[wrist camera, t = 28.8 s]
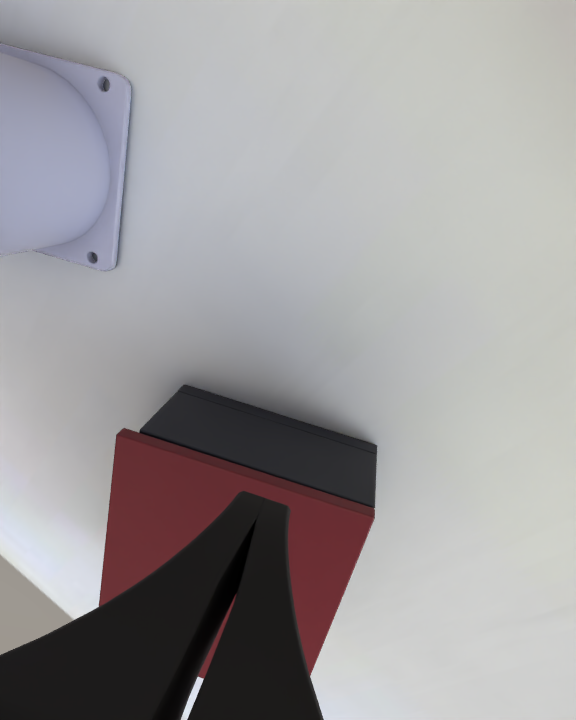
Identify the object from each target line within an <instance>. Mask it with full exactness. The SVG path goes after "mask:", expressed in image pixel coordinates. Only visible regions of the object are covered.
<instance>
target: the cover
mask: <svg viewBox="0 0 576 720" xmlns="http://www.w3.org/2000/svg"><path fill="white" fill-rule="evenodd" d="M241 491H246V492H249V493H252V494H255V495H258V496H261V497H264V498H267V499H270V500H273V501H276V502H279V503H282V504H285V505H287V506H288V507H289V508H290V510H291V512H290V518H289V529H288V550H289V565H290V577H291V586H292V594H293V600H294V607H295V613H296V618H297V624H298V629H299V634H300V638H301V642H302V647H303V651H304V655H305V659H306V663H307V667H308V671H309V674H310V675H311V673H312V670H313V668H314V665H315V663H316V660H317V658H318V656H319V653H320V651H321V648H322V646H323V643H324V641H325V638H326V636H327V634H328V631H329V629H330V626H331V624H332V621H333V619H334V616H335V614H336V612H337V609H338V607H339V604H340V602H341V599H342V597H343V594H344V592H345V590H346V587H347V585H348V582H349V580H350V577H351V575H352V572H353V570H354V568H355V565H356V563H357V560H358V558H359V555H360V553H361V550H362V548H363V546H364V543H365V541H366V538H367V536H368V533H369V531H370V528H371V526H372V524H373V521H374V519H375V509H374V508H371V507H368V506H365V505H362V504H359V503H356V502H353V501H350V500H347V499H343V498H340V497H337V496H334V495H331V494H328V493H325V492H322V491H319V490H315V489H312V488H309V487H306V486H303V485H300V484H297V483H294V482H291V481H287V480H284V479H281V478H278V477H275V476H272V475H269V474H266V473H263V472H259V471H256V470H253V469H250V468H247V467H244V466H241V465H238V464H235V463H231V462H228V461H225V460H222V459H219V458H216V457H213V456H210V455H207V454H203V453H200V452H197V451H194V450H191V449H188V448H185V447H182V446H179V445H175V444H172V443H169V442H166V441H163V440H160V439H157V438H154V437H150V436H147V435H144V434H141V433H138V432H135V431H132V430H129V429H126V428H123V429H122V430H121V431H120V432H119V433H118V434H117V435H116V444H115V454H114V464H113V474H112V483H111V493H110V503H109V513H108V522H107V532H106V542H105V552H104V562H103V571H102V581H101V591H100V601H99V607H100V606H101V605H103V604H105V603H106V602H108V601H110V600H111V599H113V598H114V597H116V596H118V595H119V594H121V593H122V592H124V591H126V590H127V589H129V588H130V587H132V586H133V585H135V584H136V583H138V582H139V581H141V580H142V579H144V578H145V577H147V576H148V575H149V574H151V573H152V572H154V571H155V570H156V569H158V568H159V567H160V566H162V565H163V564H164V563H166V562H167V561H168V560H169V559H171V558H172V557H173V556H174V555H176V554H177V553H178V552H179V551H180V550H182V549H183V548H184V547H185V546H187V545H188V544H189V543H190V542H191V541H192V540H194V539H195V538H196V537H197V536H198V535H199V534H200V533H201V532H202V531H203V530H204V529H205V528H207V527H208V526H209V525H210V524H211V523H212V522H213V521H214V520H215V519H216V518H217V517H218V516H219V515H220V514H221V513H222V512H223V511H224V510H225V509H226V507H227V506H228V505H229V504H230V503H231V502H232V500H233V499H234V498H235V497H236V495H237V494H238V493H239V492H241ZM235 597H236V595H235ZM235 597H234V599H233V601H232V604H231V606H230V608H229V610H228V612H227V614H226V617H225V619H224V621H223V623H222V625H221V627H220V630H219V632H218V634H217V636H216V638H215V640H214V642H213V645H212V647H211V649H210V651H209V653H208V655H207V657H206V660H205V662H204V664H203V666H202V668H201V670H200V672H199V675H198V677H201V678H205V675H206V673H207V670H208V668H209V665H210V663H211V660H212V658H213V655H214V653H215V650H216V648H217V645H218V642H219V640H220V637H221V635H222V632H223V630H224V627H225V625H226V622H227V619H228V617H229V614H230V612H231V609H232V607H233V604H234V601H235Z"/></svg>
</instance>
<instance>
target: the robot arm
mask: <svg viewBox="0 0 576 720" xmlns="http://www.w3.org/2000/svg"><path fill="white" fill-rule="evenodd" d="M106 79H108V80H109V83H110V87H109V90H108V91H106V92H105V90H104V88H103V83H104V80H106ZM130 103H131V85H130V82H129V80H128V79H127V78H126V77H125V76H123V75H121V74H118V73H115V72H111V71H107V70H103V69H99V68H95V67H91V66H87V65H84V64H80V63H76V62H72V61H68V60H64V59H60V58H56V57H52V56H48V55H44V54H40V53H36V52H32V51H29V50H25V49H21V48H17V47H13V46H9V45H5V44H1V43H0V256H5V255H10V254H15V253H20V252H25V251H30V250H33V251H36V252H40V253H43V254H46V255H50V256H53V257H56V258H60V259H63V260H67V261H70V262H73V263H77V264H80V265H83V266H87V267H90V268H94V269H97V270H100V271H109V270H112V269H113V268H114V267H115V266H116V263H117V252H118V241H119V229H120V218H121V206H122V195H123V183H124V172H125V160H126V149H127V137H128V126H129V114H130ZM93 252H94V253H95V254H96V255H97V258H98V260H97V262H96V261H94V259H93V258H92V253H93ZM290 512H291V510H290V508H289V507H288V506H287V505H285V504H282V503H279V502H276V501H273V500H270V499H267V498H264V497H261V496H258V495H255V494H252V493H249V492H246V491H241V492H239V493H238V494H237V495H236V497H235V498H234V499H233V500H232V502H231V503H230V504H229V505H228V506H227V507H226V509H225V510H224V511H223V512H222V513H221V514H220V515H219V516H218V517H217V518H216V519H215V520H214V521H213V522H212V523H211V524H210V525H209V526H208V527H207V528H205V529H204V530H203V531H202V532H201V533H200V534H199V535H198V536H197V537H196V538H195V539H194V540H192V541H191V542H190V543H189V544H188V545H187V546H185V547H184V548H183V549H182V550H180V551H179V552H178V553H177V554H176V555H174V556H173V557H172V558H171V559H169V560H168V561H167V562H166V563H164V564H163V565H162V566H160V567H159V568H158V569H156V570H155V571H154V572H152V573H151V574H149V575H148V576H147V577H145V578H144V579H142V580H141V581H139V582H138V583H136V584H135V585H133V586H132V587H130V588H129V589H127V590H126V591H124V592H122V593H121V594H119V595H118V596H116V597H114V598H113V599H111V600H110V601H108V602H106V603H105V604H103V605H101V606H100V607H98V608H96V609H94V610H93V611H91V612H89V613H87V614H85V615H83V616H81V617H79V618H77V619H76V620H74V621H72V622H70V623H68V624H66V625H64V626H62V627H60V628H58V629H57V630H54V631H53V632H51V633H49V634H46V635H45V636H42V637H40V638H38V639H36V640H34V641H31V642H29V643H27V644H24V645H22V646H20V647H18V648H15V649H13V650H11V651H8V652H6V653H4V654H2V655H0V720H181V717H182V714H183V712H184V709H185V706H186V704H187V701H188V698H189V696H190V693H191V691H192V689H193V686H194V684H195V681H196V679H197V677H198V675H199V672H200V670H201V668H202V666H203V664H204V662H205V660H206V657H207V655H208V653H209V651H210V649H211V647H212V645H213V642H214V640H215V638H216V636H217V634H218V632H219V630H220V627H221V625H222V623H223V621H224V619H225V617H226V614H227V612H228V610H229V608H230V606H231V604H232V601H233V599H234V597H235V595H236V597H235V601H234V604H233V607H232V609H231V612H230V614H229V617H228V619H227V622H226V625H225V627H224V630H223V632H222V635H221V637H220V640H219V642H218V645H217V648H216V650H215V653H214V655H213V658H212V660H211V663H210V665H209V668H208V670H207V673H206V675H205V678H204V680H203V683H202V685H201V688H200V690H199V693H198V695H197V698H196V700H195V702H194V705H193V707H192V710H191V712H190V715H189V717H188V719H187V720H324V719H323V716H322V713H321V710H320V707H319V703H318V700H317V697H316V694H315V691H314V688H313V684H312V681H311V678H310V674H309V671H308V667H307V663H306V659H305V655H304V651H303V647H302V642H301V638H300V634H299V629H298V624H297V618H296V613H295V607H294V600H293V594H292V586H291V577H290V565H289V550H288V529H289V518H290Z"/></svg>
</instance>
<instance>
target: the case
mask: <svg viewBox="0 0 576 720" xmlns="http://www.w3.org/2000/svg"><path fill="white" fill-rule="evenodd" d="M139 433H141V434H144V435H147V436H150V437H154V438H157V439H160V440H163V441H166V442H169V443H172V444H175V445H179V446H182V447H185V448H188V449H191V450H194V451H197V452H200V453H203V454H207V455H210V456H213V457H216V458H219V459H222V460H225V461H228V462H231V463H235V464H238V465H241V466H244V467H247V468H250V469H253V470H256V471H259V472H263V473H266V474H269V475H272V476H275V477H278V478H281V479H284V480H287V481H291V482H294V483H297V484H300V485H303V486H306V487H309V488H312V489H315V490H319V491H322V492H325V493H328V494H331V495H334V496H337V497H340V498H343V499H347V500H350V501H353V502H356V503H359V504H362V505H365V506H368V507H371V508H375V489H376V461H377V446H376V445H374V444H371V443H368V442H364V441H361V440H358V439H355V438H352V437H349V436H345V435H342V434H339V433H336V432H333V431H330V430H326V429H323V428H320V427H317V426H314V425H311V424H307V423H304V422H301V421H298V420H295V419H292V418H288V417H285V416H282V415H279V414H276V413H273V412H269V411H266V410H263V409H260V408H257V407H253V406H250V405H247V404H244V403H241V402H238V401H234V400H231V399H228V398H225V397H222V396H219V395H215V394H212V393H209V392H206V391H203V390H200V389H196V388H193V387H190V386H187V385H183V386H182V387H181V388H180V389H179V390H178V392H176V394H175V395H174V396H173V397H172V398H171V399H170V400H169V401H168V402H167V403H166V404H165V405H164V406H163V407H162V408H161V409H160V410H159V411H158V412H157V413H156V414H155V415H154V416H153V417H152V418H151V419H150V420H149V421H148V422H147V423H146V424H145V425H144V426H143V427H142V428H141V429H140V432H139Z"/></svg>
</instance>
